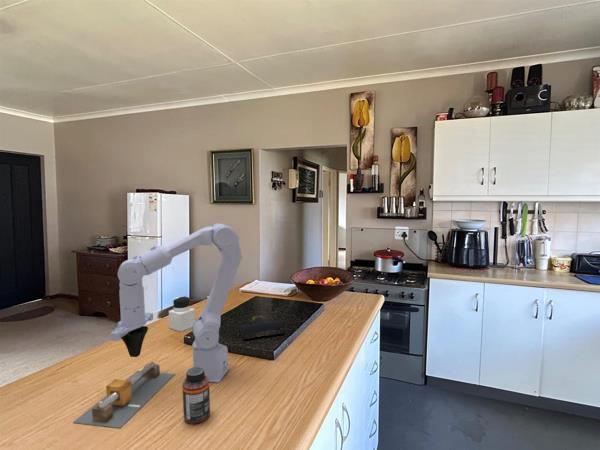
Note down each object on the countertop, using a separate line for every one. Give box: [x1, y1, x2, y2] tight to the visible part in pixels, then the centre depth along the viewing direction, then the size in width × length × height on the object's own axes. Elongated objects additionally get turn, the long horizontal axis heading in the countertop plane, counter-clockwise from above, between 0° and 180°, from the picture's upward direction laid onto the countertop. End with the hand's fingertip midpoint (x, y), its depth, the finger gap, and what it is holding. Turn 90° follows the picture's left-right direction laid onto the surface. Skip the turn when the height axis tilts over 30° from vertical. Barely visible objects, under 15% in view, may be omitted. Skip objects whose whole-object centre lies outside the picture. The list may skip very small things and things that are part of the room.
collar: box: [105, 379, 132, 406], centre depth 82 cm, size 4×3×5 cm
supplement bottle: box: [182, 366, 211, 425], centre depth 78 cm, size 6×6×11 cm
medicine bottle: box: [168, 295, 196, 333], centre depth 132 cm, size 7×7×12 cm
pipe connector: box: [240, 315, 285, 334], centre depth 127 cm, size 12×5×15 cm
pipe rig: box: [72, 361, 176, 429], centre depth 86 cm, size 12×23×4 cm, turn 171°
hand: (135, 355), depth 89 cm, fingers closed
